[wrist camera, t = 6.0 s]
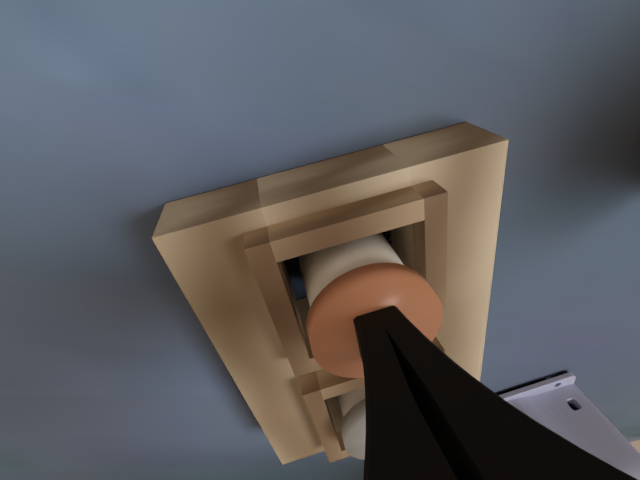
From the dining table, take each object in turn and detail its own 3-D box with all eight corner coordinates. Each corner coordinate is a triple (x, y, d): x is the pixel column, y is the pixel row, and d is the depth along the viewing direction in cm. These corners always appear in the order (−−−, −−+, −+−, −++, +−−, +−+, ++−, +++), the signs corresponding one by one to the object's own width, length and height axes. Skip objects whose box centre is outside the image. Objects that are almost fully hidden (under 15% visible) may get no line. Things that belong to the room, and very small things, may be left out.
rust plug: (387, 197, 13) (443, 260, 10) (394, 279, 16) (442, 355, 12) (279, 227, 13) (296, 304, 10) (304, 306, 16) (325, 392, 12)
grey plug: (394, 320, 18) (433, 393, 15) (400, 369, 21) (434, 441, 17) (317, 344, 18) (337, 425, 15) (331, 390, 21) (351, 469, 17)
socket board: (466, 121, 13) (530, 148, 10) (455, 365, 22) (487, 416, 19) (165, 203, 13) (144, 256, 10) (278, 422, 22) (284, 484, 19)
